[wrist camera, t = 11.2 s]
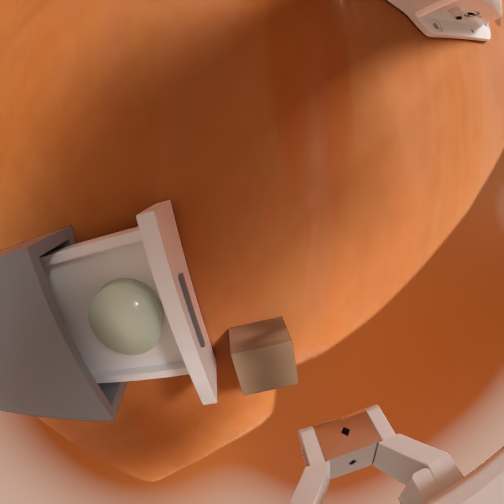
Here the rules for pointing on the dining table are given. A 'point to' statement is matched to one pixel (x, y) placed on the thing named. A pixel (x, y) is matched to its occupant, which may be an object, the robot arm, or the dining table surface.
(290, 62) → the dining table surface
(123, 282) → the pale green disc
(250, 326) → the walnut block
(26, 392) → the grey drawer cabinet
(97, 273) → the white drawer
